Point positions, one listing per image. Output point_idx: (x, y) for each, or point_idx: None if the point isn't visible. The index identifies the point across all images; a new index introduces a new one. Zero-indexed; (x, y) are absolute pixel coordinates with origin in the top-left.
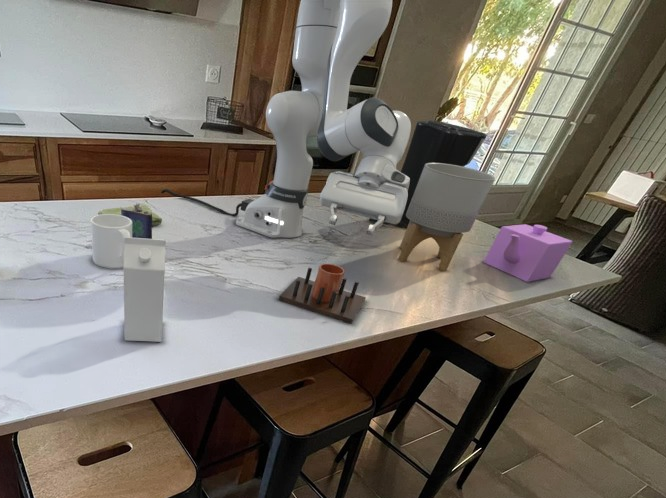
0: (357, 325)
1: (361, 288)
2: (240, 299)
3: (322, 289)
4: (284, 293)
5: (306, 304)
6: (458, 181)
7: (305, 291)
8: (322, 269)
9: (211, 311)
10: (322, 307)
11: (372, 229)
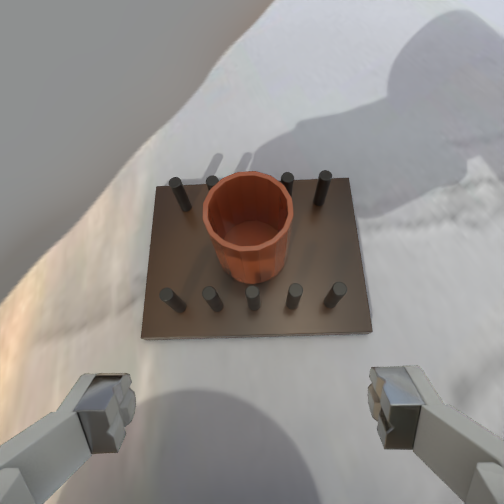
0: (146, 197)
1: (167, 447)
2: (413, 132)
3: None
4: (345, 194)
5: None
6: None
7: (306, 244)
8: (272, 180)
9: (420, 63)
10: None
11: (88, 382)
